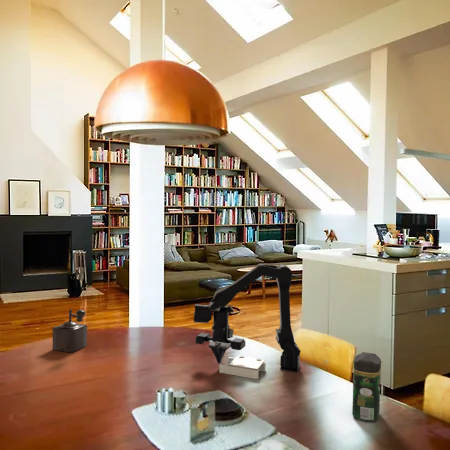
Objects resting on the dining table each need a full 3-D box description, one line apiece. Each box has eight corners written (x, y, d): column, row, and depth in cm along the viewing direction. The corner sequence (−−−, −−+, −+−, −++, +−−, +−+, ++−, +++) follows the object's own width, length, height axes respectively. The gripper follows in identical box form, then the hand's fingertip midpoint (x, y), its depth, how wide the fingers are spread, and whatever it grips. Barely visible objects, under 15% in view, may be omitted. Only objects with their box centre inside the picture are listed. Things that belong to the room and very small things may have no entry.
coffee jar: (354, 406, 151) (356, 348, 150) (380, 411, 148) (382, 352, 147) (349, 419, 142) (351, 358, 141) (377, 424, 139) (380, 362, 138)
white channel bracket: (265, 370, 181) (265, 361, 181) (257, 379, 172) (257, 369, 172) (228, 364, 187) (228, 356, 186) (219, 372, 178) (219, 363, 178)
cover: (264, 361, 181) (264, 359, 181) (257, 370, 173) (257, 367, 173) (237, 357, 185) (237, 355, 185) (228, 365, 177) (228, 363, 177)
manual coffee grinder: (50, 350, 200) (50, 307, 199) (67, 342, 210) (67, 302, 209) (81, 355, 194) (81, 311, 193) (97, 347, 205) (97, 305, 203)
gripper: (250, 321, 186) (249, 360, 187) (207, 315, 193) (206, 353, 194) (240, 328, 175) (239, 370, 176) (195, 321, 183) (193, 361, 184)
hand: (219, 363), depth 183 cm, fingers closed
